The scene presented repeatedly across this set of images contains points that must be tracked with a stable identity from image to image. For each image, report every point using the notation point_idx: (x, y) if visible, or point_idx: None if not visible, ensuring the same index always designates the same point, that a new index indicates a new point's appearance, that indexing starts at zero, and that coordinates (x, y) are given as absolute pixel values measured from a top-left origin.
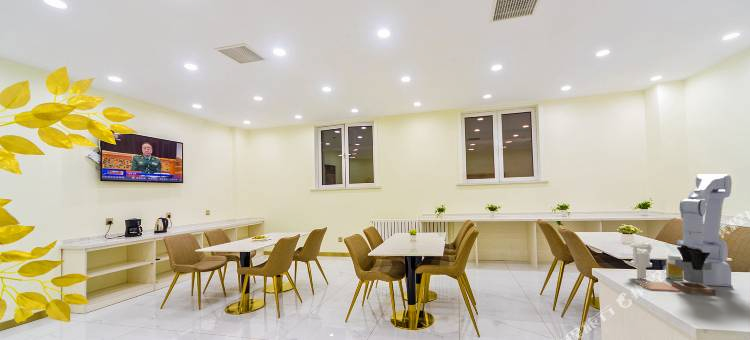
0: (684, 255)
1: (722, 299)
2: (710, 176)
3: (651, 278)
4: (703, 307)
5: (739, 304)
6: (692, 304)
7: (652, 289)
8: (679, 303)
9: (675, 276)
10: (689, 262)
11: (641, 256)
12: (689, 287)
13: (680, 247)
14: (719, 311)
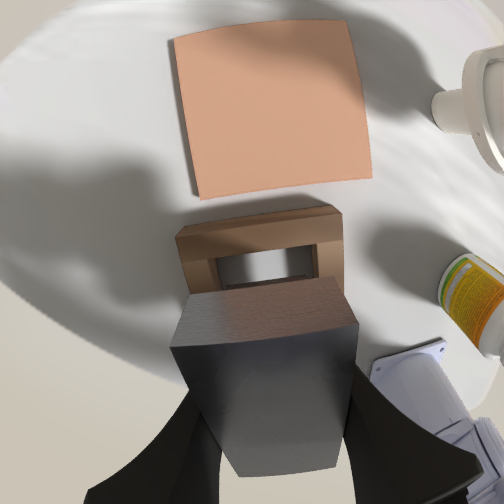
0: (366, 440)
1: (154, 332)
2: None
3: (458, 169)
4: (14, 209)
5: (116, 350)
6: (26, 182)
7: (175, 52)
8: (20, 137)
9: (451, 285)
10: (194, 394)
11: None
12: (194, 253)
13: (441, 499)
14: (6, 243)
